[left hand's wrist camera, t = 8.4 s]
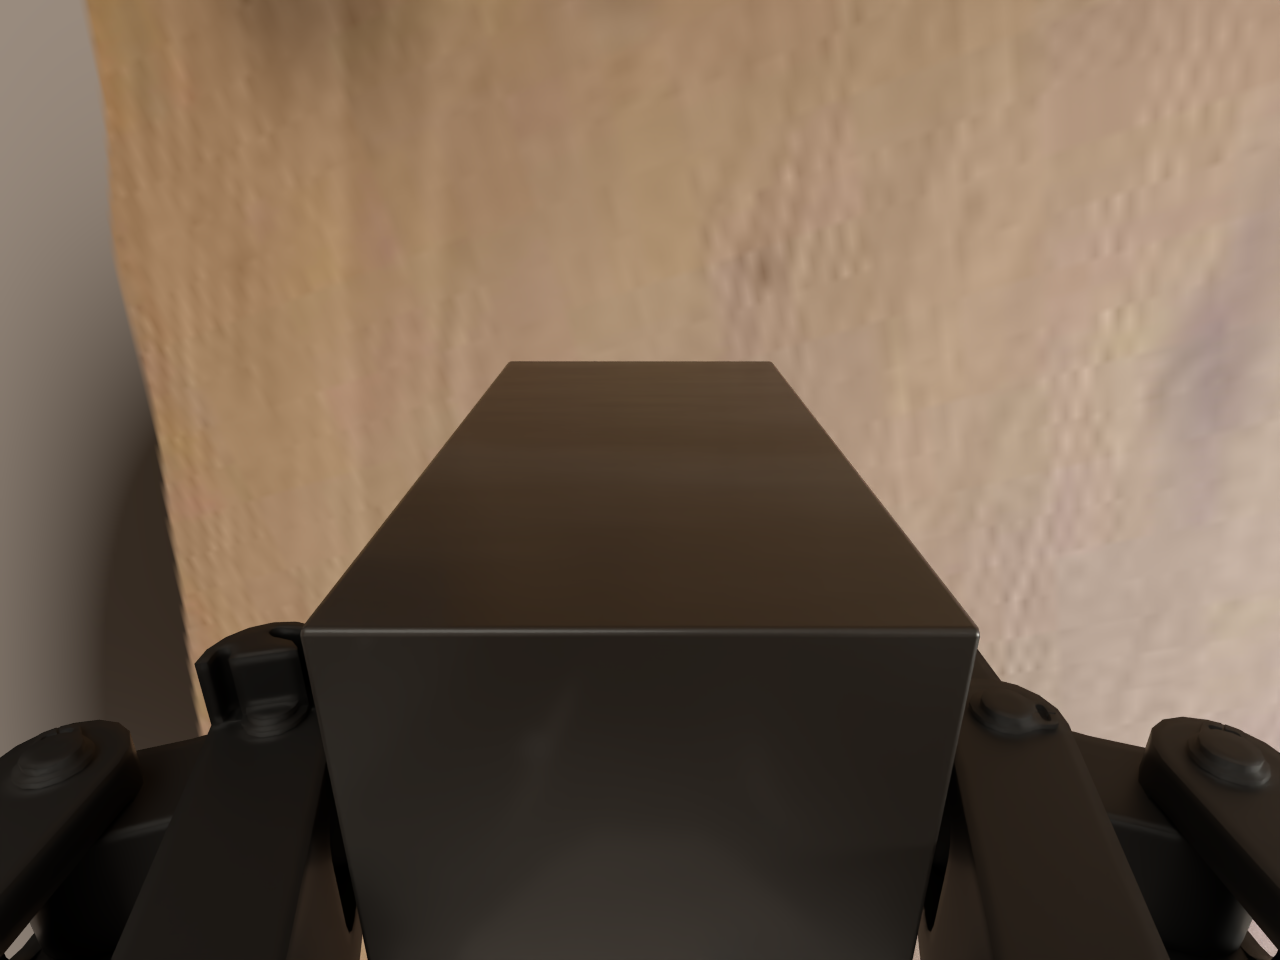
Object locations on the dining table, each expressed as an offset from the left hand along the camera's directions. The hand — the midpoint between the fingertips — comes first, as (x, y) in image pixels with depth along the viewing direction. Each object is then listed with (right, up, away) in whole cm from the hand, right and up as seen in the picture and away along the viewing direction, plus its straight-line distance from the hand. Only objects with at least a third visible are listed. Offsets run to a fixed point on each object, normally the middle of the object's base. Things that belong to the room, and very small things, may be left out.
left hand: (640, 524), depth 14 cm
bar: (0, -8, +4) cm, 9 cm away
